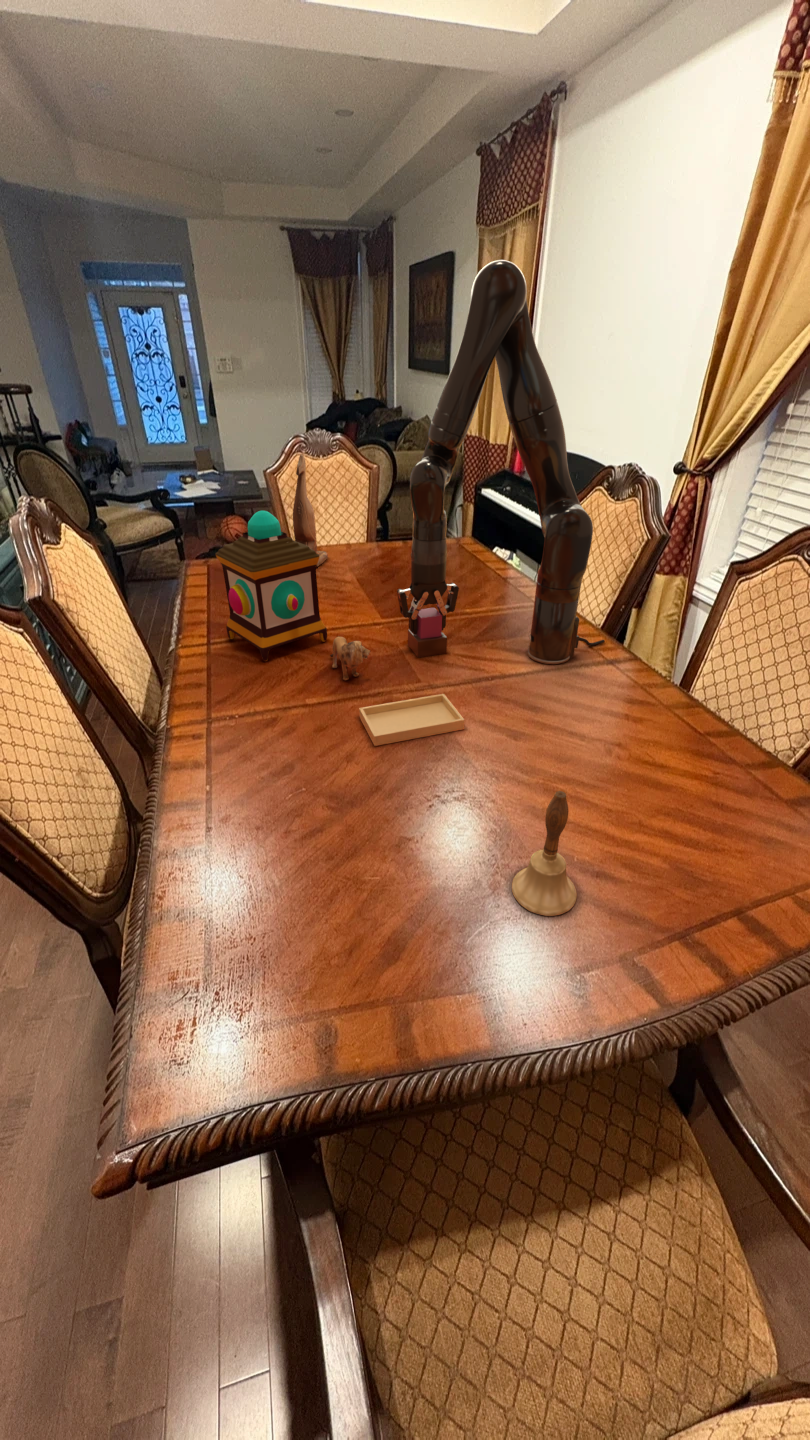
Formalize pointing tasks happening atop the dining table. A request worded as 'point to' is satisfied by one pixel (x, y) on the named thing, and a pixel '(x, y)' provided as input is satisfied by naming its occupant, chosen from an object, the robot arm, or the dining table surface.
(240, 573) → the decorative lantern
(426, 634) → the mulberry block
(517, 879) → the hand bell
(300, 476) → the bird sculpture
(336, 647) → the lion figurine
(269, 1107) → the dining table surface
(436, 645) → the walnut block
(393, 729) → the tray
